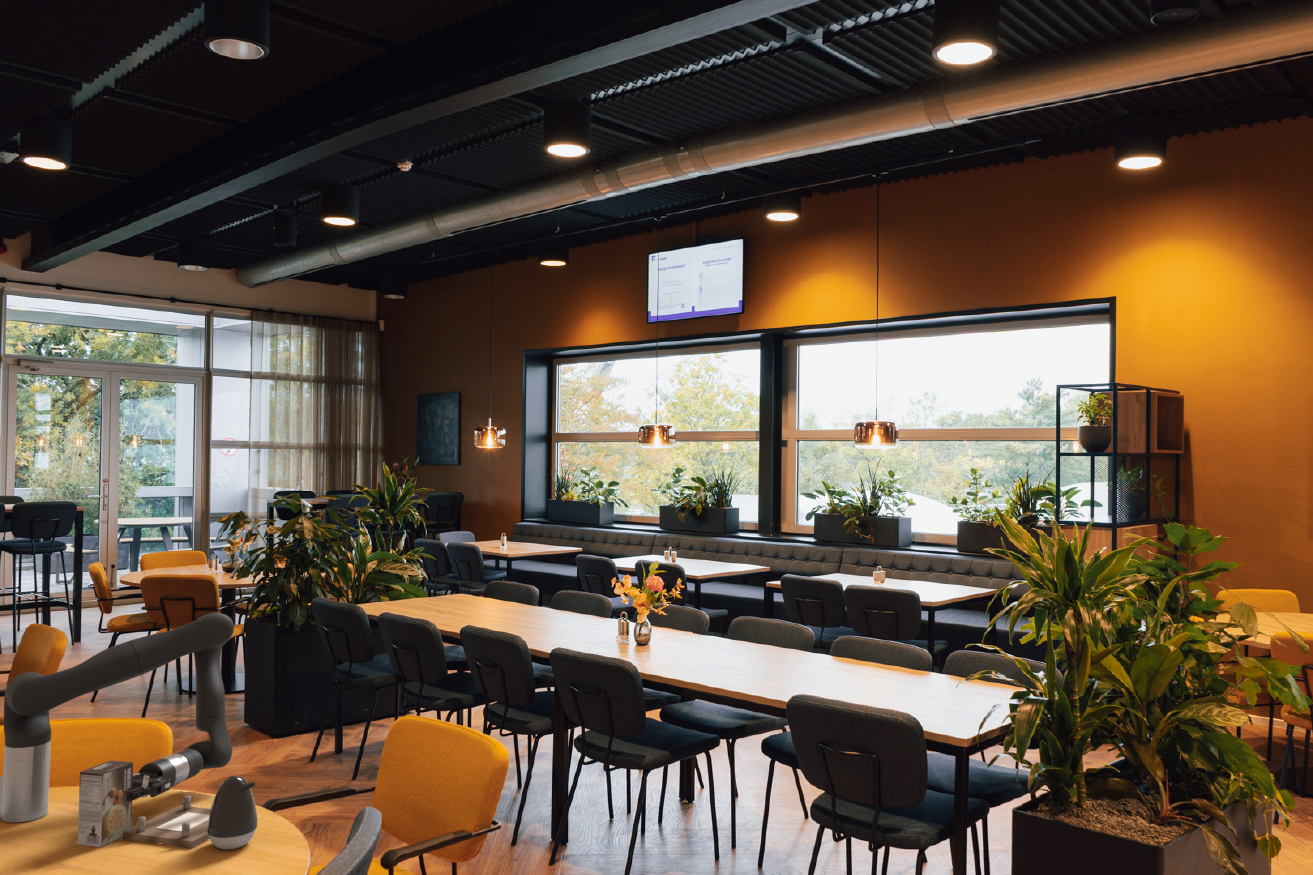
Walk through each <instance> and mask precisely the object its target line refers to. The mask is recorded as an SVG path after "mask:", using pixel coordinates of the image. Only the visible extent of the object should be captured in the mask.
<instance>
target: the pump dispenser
mask: <svg viewBox="0 0 1313 875" xmlns="http://www.w3.org/2000/svg"><path fill="white" fill-rule="evenodd" d="M254 787H256V781H251V782H248V781H247V780H246V778H245V777H243V776H241V775H231V776H228V777H226V778H225V779H224V780H223V781H222V782H221V784H220V785H219V787H218V789H217V791H216V793H215V796H214V799H213V801H212V804H211V806H210V807H211V808H210V809H211V810H210V815H209V820H208V826H207V833H208V834H209V837H210V839H209V840H210V842H211V844H212V845H213V846H215V847H216V848H218V849H220V850H227V851H228V850H229V849H230V850H236V849H239V848H241V847H243V846H245V845H247V844H248V843H249V842H250V841H251V840H252V839H253V837H254V834H255V833H256V829H257V828H258V814H257V806H256V801H255V797H254V794H253V791H252V788H254ZM230 850H229V851H230Z"/></svg>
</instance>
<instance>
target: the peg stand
mask: <svg viewBox="0 0 1313 875" xmlns="http://www.w3.org/2000/svg"><path fill="white" fill-rule="evenodd" d="M182 804H183V805H179V806H176V807H174V808H172V809H170V810H167V811H166V812H164V813H161V814H159V815H157V816H155V817H153V818H150V819H148V820H147V821H146V818H147V817H146V816H138V817H137V822H136V823H137V825H136V826H134V827H131V829H129V830H127V831H125V832H123V837H122V839H123V840H127V841H133V842H134V841H135V842H142V843H148V844H149V843H151V844H156V843H162V844H161V845H163V844H165V845H166V846H173V847H180V848H186V847H188V848H187V849H194V848H196V847H198V846H199V845H202V844H204V843H205V842H208V841H209V840H210V837H209V834H208V833H207V826H208V820H209V815H210V810H211V808H205V807H204V808H203V807H197V806H196V807H195V806H192V795H190V794H189V795H184V796H183V803H182ZM208 839H209V840H208ZM165 845H164V846H165Z"/></svg>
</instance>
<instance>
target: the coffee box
mask: <svg viewBox="0 0 1313 875" xmlns="http://www.w3.org/2000/svg"><path fill="white" fill-rule="evenodd" d="M133 774H134V761H121V760H110V759H109V760H108V761H106V762H102V763H100V764H97V765H95V766H92V767H89V768H87V769H85V770H82V771H79V787H78V788H79V791H78V792H79V794H78V817H77V818H78V819H77V820H78V824H77V845H78V846H85V847H95V848H103V847H105V846H107V845H109V844H111V843H113V842H115V841H117V840H118V839H119V840H120V838H123V832H125V831H127V830H129V829H131V828H132V819H133V818H132V811H133V801H131V802H128V801H127V793H128V792H129V791H131V790H132V786H133Z"/></svg>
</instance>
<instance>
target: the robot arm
mask: <svg viewBox="0 0 1313 875" xmlns="http://www.w3.org/2000/svg"><path fill="white" fill-rule="evenodd" d="M234 632H235V624H234V622H233V620H232V618H231V617H230V616H228V615H227V614H225V613H222V612H210V613H207V614H204V615H202V616H200V617H198V618H197V619H195V620H193V621H191V622H189V623H186V624H184V625H182V626H179V627H177V628H173V629H171V630H167V631H162V632H158V633H153V634H149V635H148V634H147V635H145V636H142V637H138V638H133V639H130V640H128V641H125V642H122V643H119V644H115V645H113V646H111V647H107V648H106V649H103V650H102V651H100V652H98V653H96V654H94V655H92V656H91V657H90V658H88V659H85V661H82V662H81V663H79V664H77V665H75V666H73V667H70V668H67V669H66V668H65V669H64V670H60V671H57V672H53V673H49V674H45V675H43V674H41V673H39V672H34V671H28V672H22V673H20V674H18V675H17V676H15V677H13V678H12V679H11V680H10V682H8V684H7V686H6V688H5V692H4V699H3V700H4V701H3V734H4V755H3V758H4V759H3V775H1V776H0V819H1V821H2V822H6V823H24V822H29V821H34V820H37V819H41V818H43V817H45V816H46V815H48V813H49V795H50V775H51V774H50V771H51V770H50V769H51V751H52V750H51V745H52V727H51V722H50V710H53V709H54V708H57V707H59V706H61V705H63V704H65V703H67V702H69V701H71V700H74V699H76V698H78V697H81V696H84V695H86V694H90V693H93V692H94V693H95V692H96V691H97V692H98V691H99V690H102V689H105V688H109V687H111V686H115V685H117V684H120V683H123V682H127V681H129V680H132V679H134V678H137V677H141V676H143V675H145V674H148V673H149V672H152V671H155V670H156V669H159V668H161V667H164V666H165V665H167V664H169V663H171V662H173V661H175V660H177V659H179V658H182V657H184V656H185V657H186V656H187V655H190V654H193V657H194V658H193V659H194V667H195V727H196V730H198V731H200V732H205V733H207V735H208V737H209V739H210V740H202V741H197V742H195V743H192V744H190V745H188V746H187V747H186V748H184V749H183V750H180V751H179V752H176V753H173V754H168V755H165V756H162V757H160V758H158V759H156V760H153V761H150V762H148V763H146V764H144V765H143V766H142V767H140V769H139V771H138V772H137V773H133V786H132V790H131V791H129V792H128V793H127V801H128V802H131V801H132V802H133V801H136V800H139V799H140V798H146V797H148V796H149V797H150V798H155V797H158V796H160V795H162V794H163V793H166V792H168V791H170V790H171V788H173V787H175V786H179V784H181V783H182V782H185V781H187V780H189V779H191V778H194V777H195V776H197V775H198V774H199V773H200V772H201V771H202V770H208V769H209V770H210V769H219V768H224V767H225V766H227V765H228V764H229V763H230V761H231V759H232V756H233V744H232V740H231V738H230V734H229V730H228V727H227V723H226V695H225V694H226V692H225V685H224V681H223V677H222V669H221V659H222V658H221V656H222V649H223V646H224V645H225V644H227V642H229V641H230V640H231V638H232V636H233V634H234Z"/></svg>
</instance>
